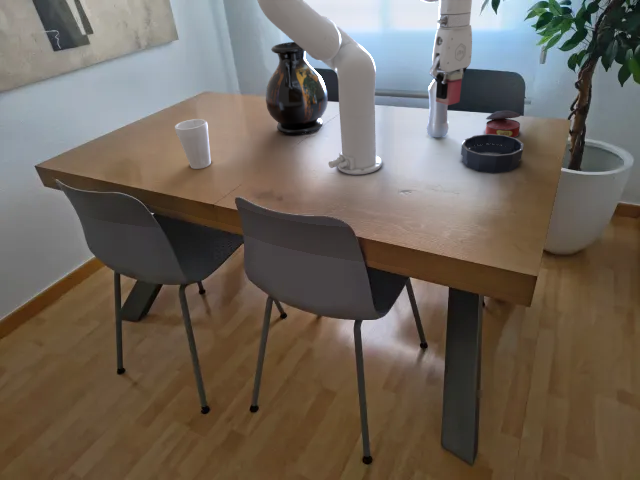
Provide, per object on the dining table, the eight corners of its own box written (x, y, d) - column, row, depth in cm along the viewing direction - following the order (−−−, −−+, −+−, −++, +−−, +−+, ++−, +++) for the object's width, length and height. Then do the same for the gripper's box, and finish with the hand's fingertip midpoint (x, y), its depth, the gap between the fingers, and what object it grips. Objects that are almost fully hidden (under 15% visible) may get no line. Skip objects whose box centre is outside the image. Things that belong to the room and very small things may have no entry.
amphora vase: (324, 138, 149) (316, 49, 134) (263, 139, 153) (249, 53, 138) (334, 117, 167) (328, 37, 151) (278, 119, 171) (267, 41, 156)
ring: (496, 178, 114) (498, 160, 111) (449, 162, 125) (450, 145, 122) (532, 161, 121) (535, 143, 118) (485, 146, 132) (487, 130, 129)
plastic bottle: (442, 141, 138) (447, 74, 127) (422, 137, 142) (425, 72, 131) (451, 134, 142) (456, 69, 132) (431, 131, 146) (434, 67, 135)
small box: (434, 102, 121) (436, 71, 117) (446, 98, 123) (448, 68, 118) (448, 105, 117) (451, 74, 113) (460, 102, 119) (463, 71, 115)
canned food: (484, 149, 142) (472, 120, 139) (501, 136, 146) (490, 108, 144) (516, 140, 132) (503, 109, 130) (533, 127, 136) (521, 97, 134)
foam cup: (185, 173, 135) (174, 131, 128) (185, 161, 142) (174, 122, 135) (216, 167, 136) (207, 126, 129) (214, 156, 144) (205, 117, 137)
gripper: (441, 27, 103) (436, 106, 113) (489, 17, 110) (480, 91, 120) (418, 25, 108) (415, 100, 118) (464, 15, 116) (458, 87, 125)
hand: (447, 95), depth 119 cm, fingers closed on small box, 4 cm apart
